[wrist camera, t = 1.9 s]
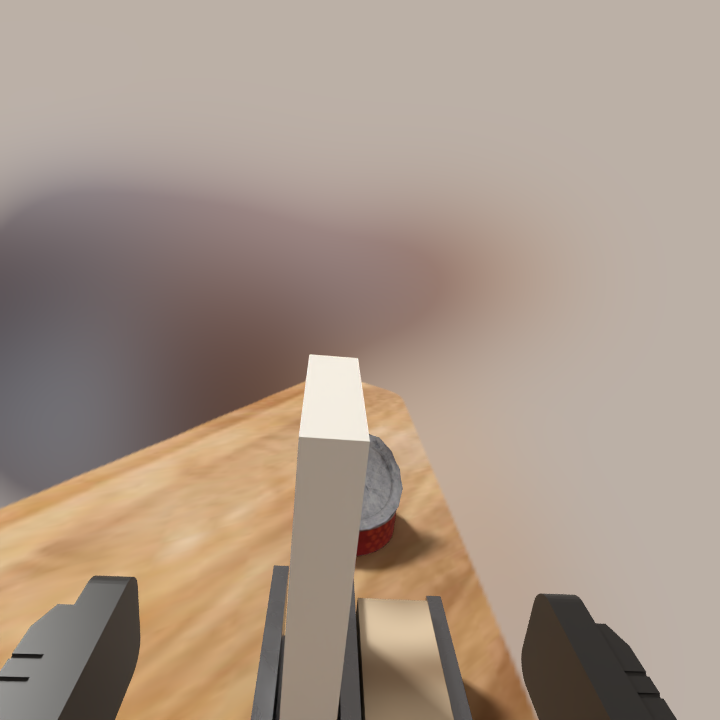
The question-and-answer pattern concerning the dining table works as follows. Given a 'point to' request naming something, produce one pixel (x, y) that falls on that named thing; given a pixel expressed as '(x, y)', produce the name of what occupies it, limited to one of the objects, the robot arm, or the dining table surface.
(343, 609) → the white rectangular board
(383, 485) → the canned food
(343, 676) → the rack
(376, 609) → the offcut top
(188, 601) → the dining table surface
